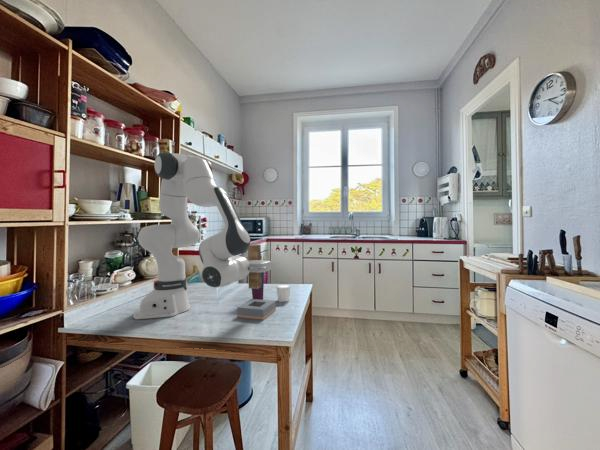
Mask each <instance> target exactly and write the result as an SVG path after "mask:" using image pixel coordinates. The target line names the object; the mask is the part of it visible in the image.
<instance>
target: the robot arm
mask: <svg viewBox="0 0 600 450" xmlns="http://www.w3.org/2000/svg"><path fill="white" fill-rule="evenodd" d="M153 167H154V172H155V174H156V175H157V177H158V178H161V181H160V182H161V183H160V187H159V188H160V189H159V191H160V192H159V201H158V202H159V203H158V209H159V212H160V213H161V214H162V215H164V216H165V217H167V218H169V219H170V220H171V223H170V224H168V223H167V224H166V223H165V224H152V225H148V226H144V227H142V228H141V229H140V231H139V232H138V235H137V241H138V244H139V245H140V247H142V249H144V250H146V251H147V252H149V253H150V254H151V255H152V256H153V257H154V260H155V261H156V265H157V272H158V273H157V274H158V276H157V277H158V279H154V280H153V289H152V290H151V291H150V292H149V293H148V294H147V295H145V296H144V297H143V298H142V299H141V301H140V303H139V308H138V309H136V311H135V312H134V313H133V317H132V318H133V319H134V320H146V319H147V320H148V319H156V318H168V317H169V318H170V317H175V316H177V315H178V314H181V313H184V312H186V311H188V310H190V309H191V305H190V302H189V298H188V280H187V279H188V278H187V277H186V262H185V260H184V258H182V257H180V256H178V255H174V253H173V249H178V248H180V249H181V248H188V247H190V246H195V245H196V244H198V242H199V240H200V236H201V235H200V230H199V228H198V227H197V226H196V225H195V224H193V222H192V220H191V219H190V217H189V215H188V200H189V202H191V204H194V205H195V206H198V207H203V208H209V207H217V210H218V211H219V213H220V215H221V218H222V220H223V222H224V224H225V227H224V229H223V230H222V231H220V232H218V233H215V234H213V235H210V236H208V237H207V238H205V239H203V240H202V241H200V244H199V247H198V254H199V259H200V261H201V263H202V265H203V267H202V271H201V277H202V278H201V279H202V280H203V282H204V283H205V284H206V286H209V287H211V288H223V287H226V286H229V285H231V284H233V283H235V282H238V281H239V282H240V280H241V281H242V280H244V279H245V278H247V277H248V275H249V272H257V273H260V272H264V273H266V272H269V271H271V270H272V265H273V264H272V260H264V259H263V260H262V259H261V260H248V258H246V257H244V256H241V255H243V254H245V253H247V252H248V248H249V245H251V236H250V234H249V232H248V230H247V229H246V227H245V226H244V224H243V223H242V221H241V219H240V216H239V215H238V212H237V210H236V208H235V206H234V205H233V202H232V200H231V199H230V197H229V195H228V193H227V192H226V191H225V189H223V188H222V187H219V186H217V184H216V180H215V178H214V175H213V166H212V163H211V161H210V160H209V159H207V158H204V157H202V156H195V155H192V154H188V153H187V154H184V153H174V152H170V151H169V152H168V151H167V152H165V151H164V152H160V153H159V154H157V155H156V157H155V160H154V166H153Z"/></svg>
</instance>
